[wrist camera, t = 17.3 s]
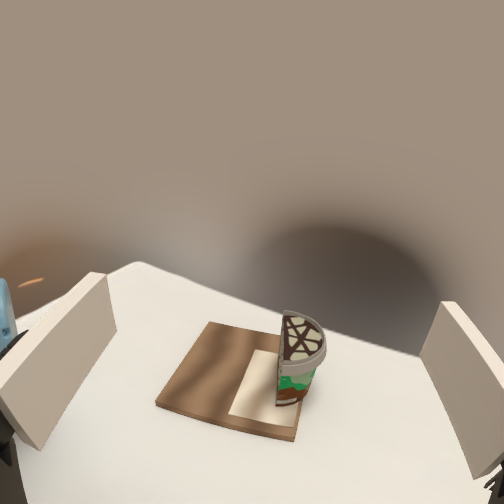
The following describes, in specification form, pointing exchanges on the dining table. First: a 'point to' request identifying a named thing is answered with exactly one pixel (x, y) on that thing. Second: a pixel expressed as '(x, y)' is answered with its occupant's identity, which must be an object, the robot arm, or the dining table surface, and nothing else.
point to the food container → (297, 357)
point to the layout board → (232, 383)
